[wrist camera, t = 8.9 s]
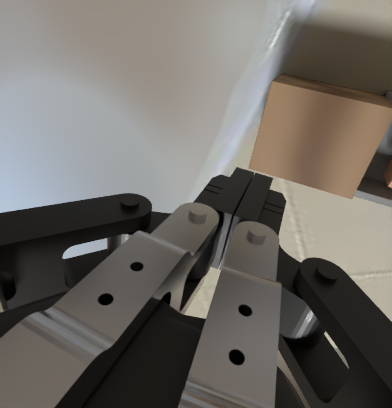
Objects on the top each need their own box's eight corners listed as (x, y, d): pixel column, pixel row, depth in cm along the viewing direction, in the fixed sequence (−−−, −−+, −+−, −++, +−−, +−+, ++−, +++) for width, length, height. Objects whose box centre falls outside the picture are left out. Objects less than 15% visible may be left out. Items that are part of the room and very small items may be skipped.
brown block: (260, 148, 32) (248, 168, 27) (281, 73, 28) (272, 81, 24) (348, 173, 30) (351, 199, 25) (384, 96, 26) (396, 109, 21)
